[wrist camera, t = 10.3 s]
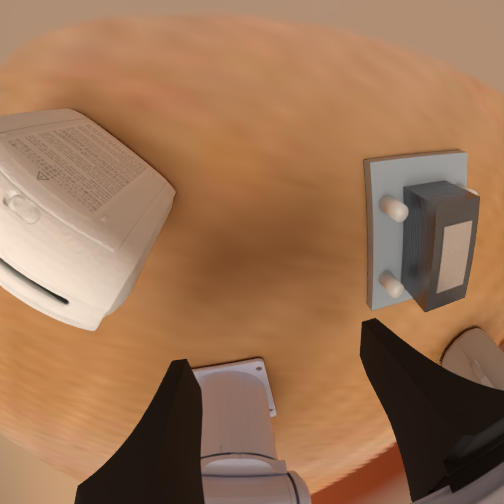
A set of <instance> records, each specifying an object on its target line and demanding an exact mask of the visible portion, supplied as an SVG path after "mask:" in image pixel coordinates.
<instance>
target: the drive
mask: <svg viewBox="0 0 504 504" xmlns="http://www.w3.org/2000/svg"><path fill="white" fill-rule="evenodd" d="M479 203H480V197H479V196H477V195H475V194H473V193H471V192H469V191H467V190H465V189H463V188H461V187H459V186H457V185H455V184H452V183H450V182H448V181H446V180H443V181H437V182H430V183H424V184H418V185H412V186H406V187H403V204H404V205H406V206H407V207H408V216H407V218H406V219H405V220H404V221H403V250H402V268H401V282H400V283H401V284H402V285H403V286H404V288H405V289H406V291H407V292H408V293H409V294H410V295H411V296H412V298H413V299H414V300H415V301H416V302H417V303H418V305H419V306H420V307H421V308H422V309H423V311H424V312H428V311H430V310H433V309H436V308H439V307H441V306H444V305H446V304H449V303H452V302H454V301H457V300H459V299H462V298H464V297H465V294H466V290H467V285H468V280H469V275H470V270H471V265H472V259H473V253H474V247H475V240H476V232H477V224H478V214H479Z"/></svg>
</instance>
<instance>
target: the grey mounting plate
mask: <svg viewBox="0 0 504 504" xmlns="http://www.w3.org/2000/svg"><path fill="white" fill-rule="evenodd" d="M364 171H365V185H366V202H367V227H368V292H367V305H368V306H369V308H370V309H371V311H373V310H377V309H380V308H383V307H387V306H390V305H393V304H397V303H400V302H403V301H406V300H410V299H413V298H412V296H411V295H410V294H409V293H408V292H407V291H406V289H405V288H404V286H403V285H402V284H401V283H400V282H401V268H402V250H403V221H404V220H405V219H406V218H407V216H408V207H407V206H406V205H404V204H403V187H406V186H412V185H418V184H424V183H430V182H437V181H443V180H446V181H448V182H450V183H452V184H455V185H457V186H459V187H461V188H463V189H465V190H467V191H469V192H471V193H473V194H475V195H477V196H478V193H477V192H476V191H474V190H472V189H470V188H468V187H467V152H464V151H461V150H452V151H439V152H428V153H417V154H407V155H398V156H390V157H381V158H373V159H366V160H364Z"/></svg>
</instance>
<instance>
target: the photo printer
mask: <svg viewBox="0 0 504 504" xmlns="http://www.w3.org/2000/svg"><path fill="white" fill-rule="evenodd" d="M175 193H176V192H175V190H174V188H173V187H172V186H171V185H170V184H169V182H168V181H167V180H166V179H165V178H164V177H163V176H162V175H160V174H159V173H158V172H157V171H156V170H155V169H153V168H152V167H151V166H150V165H149V164H148V163H146V162H145V161H144V160H142V159H141V158H140V157H139V156H138V155H136V154H135V153H134V152H133V151H131V150H130V149H129V148H127V147H126V146H125V145H124V144H122V143H121V142H120V141H118V140H117V139H116V138H115V137H113V136H112V135H111V134H109V133H108V132H107V131H105V130H104V129H103V128H102V127H100V126H99V125H97V124H96V123H95V122H93V121H92V120H90V119H89V118H87V117H86V116H84V115H83V114H81V113H79V112H77V111H74V110H72V109H54V110H44V111H33V112H25V113H17V114H9V115H2V116H0V286H2V287H3V288H4V289H5V290H7V291H8V292H10V293H11V294H12V295H14V296H15V297H17V298H18V299H20V300H21V301H23V302H25V303H26V304H28V305H29V306H31V307H33V308H34V309H36V310H38V311H40V312H42V313H44V314H46V315H48V316H50V317H52V318H54V319H57V320H59V321H61V322H64V323H66V324H69V325H72V326H75V327H78V328H81V329H86V330H90V331H95V330H96V329H97V328H98V326H99V324H100V322H101V320H102V319H103V317H105V316H107V315H109V314H111V313H112V312H114V311H115V310H117V309H118V308H119V307H120V306H121V305H122V304H123V303H124V302H125V301H126V299H127V298H128V297H129V295H130V293H131V292H132V290H133V288H134V286H135V283H136V281H137V279H138V277H139V275H140V272H141V270H142V268H143V266H144V264H145V262H146V260H147V257H148V255H149V253H150V251H151V249H152V247H153V245H154V243H155V241H156V239H157V237H158V235H159V233H160V231H161V229H162V227H163V225H164V223H165V221H166V219H167V217H168V215H169V213H170V211H171V208H172V204H173V197H174V196H175Z"/></svg>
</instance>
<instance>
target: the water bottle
mask: <svg viewBox="0 0 504 504" xmlns="http://www.w3.org/2000/svg"><path fill="white" fill-rule="evenodd" d="M442 367H443V368H445V369H447V370H449V371H451V372H453V373H455V374H457V375H459V376H462V377H464V378H466V379H468V380H471V381H473V382H476V383H479V384H482V385H485V386H488V387H491V388H495V389H499V390H503V391H504V353H503V352H502V350H501V349H500V348H499V347H498V346H497V345H496V343H495V342H494V341H493V340H492V339H491V338H490V337H489V335H488V334H487V333H486V332H485V331H484V330H481V329H479V328H473V329H471V330H468V331H466V332H464V333H463V334H462V335H461V336H460V337H458V338H457V339H456V340H455V341H454V342H453V343H452V344H451V346H450V347H449V348H448V349H447V351H446V353H445V355H444V357H443V360H442Z"/></svg>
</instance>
